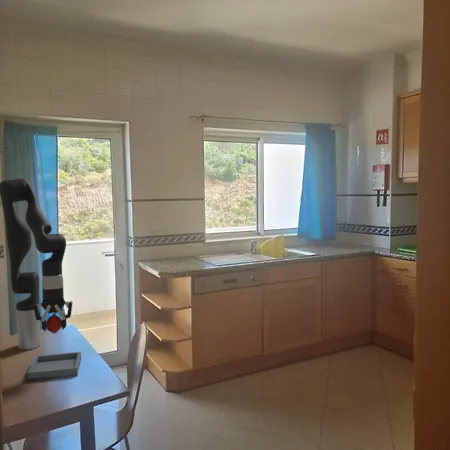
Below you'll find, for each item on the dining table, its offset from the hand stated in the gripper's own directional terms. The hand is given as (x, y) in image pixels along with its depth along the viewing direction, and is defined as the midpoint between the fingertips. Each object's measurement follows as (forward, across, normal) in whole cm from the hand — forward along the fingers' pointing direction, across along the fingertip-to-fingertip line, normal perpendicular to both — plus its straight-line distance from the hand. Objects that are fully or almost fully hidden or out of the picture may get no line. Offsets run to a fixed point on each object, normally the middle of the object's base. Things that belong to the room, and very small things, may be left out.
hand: (54, 329), depth 160 cm
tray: (+16, 0, 0) cm, 16 cm away
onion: (+2, 0, 0) cm, 2 cm away
